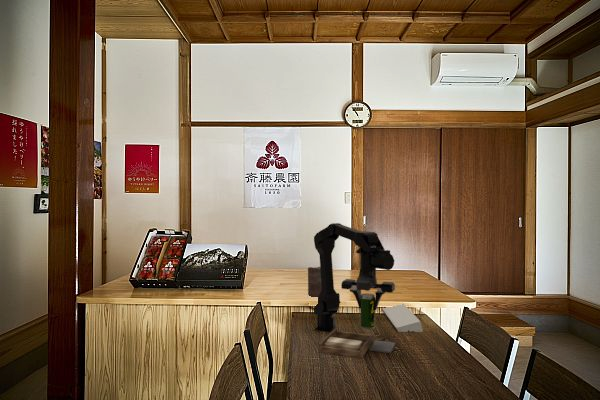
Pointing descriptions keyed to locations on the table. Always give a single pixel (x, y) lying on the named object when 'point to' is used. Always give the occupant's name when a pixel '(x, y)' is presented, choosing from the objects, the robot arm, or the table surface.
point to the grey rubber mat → (382, 346)
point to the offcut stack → (343, 343)
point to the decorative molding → (403, 319)
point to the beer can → (367, 311)
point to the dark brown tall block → (314, 281)
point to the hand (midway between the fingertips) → (367, 309)
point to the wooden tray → (345, 352)
